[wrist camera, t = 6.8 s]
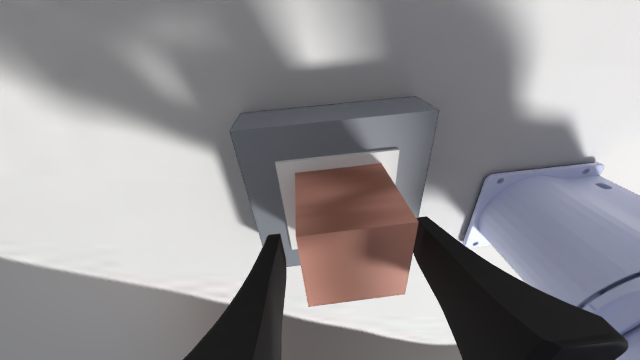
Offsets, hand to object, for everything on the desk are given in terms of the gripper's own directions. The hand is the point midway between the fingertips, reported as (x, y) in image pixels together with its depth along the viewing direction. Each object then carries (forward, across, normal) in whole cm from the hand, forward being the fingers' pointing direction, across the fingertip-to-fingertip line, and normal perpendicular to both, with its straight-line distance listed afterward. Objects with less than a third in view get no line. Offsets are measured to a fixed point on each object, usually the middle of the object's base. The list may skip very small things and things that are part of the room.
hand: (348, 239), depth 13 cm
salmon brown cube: (+3, 0, 0) cm, 3 cm away
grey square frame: (+6, 0, 0) cm, 6 cm away
